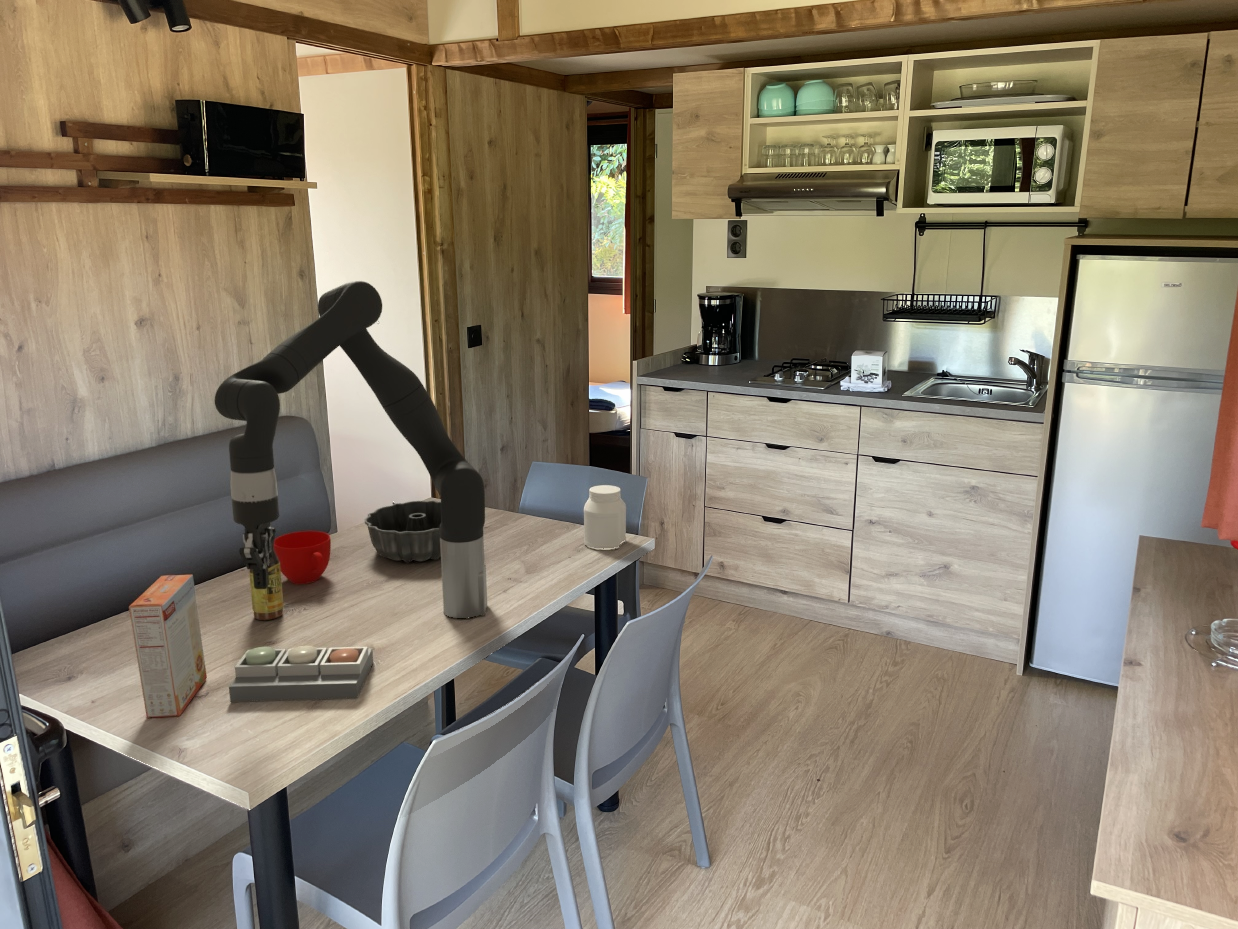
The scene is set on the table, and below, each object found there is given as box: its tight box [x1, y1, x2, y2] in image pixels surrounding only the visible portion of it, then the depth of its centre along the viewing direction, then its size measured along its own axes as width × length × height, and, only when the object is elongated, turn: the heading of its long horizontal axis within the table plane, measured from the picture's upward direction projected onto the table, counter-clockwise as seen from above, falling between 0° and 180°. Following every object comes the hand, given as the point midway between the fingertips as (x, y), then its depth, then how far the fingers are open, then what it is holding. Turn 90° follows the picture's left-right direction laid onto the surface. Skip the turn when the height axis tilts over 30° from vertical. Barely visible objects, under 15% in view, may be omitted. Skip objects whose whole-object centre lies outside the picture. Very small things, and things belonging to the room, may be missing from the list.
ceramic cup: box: [274, 530, 332, 585], centre depth 216 cm, size 13×17×10 cm
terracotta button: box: [330, 648, 359, 663], centre depth 168 cm, size 5×5×2 cm
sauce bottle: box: [248, 525, 284, 621], centre depth 195 cm, size 7×6×20 cm
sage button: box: [245, 646, 276, 665], centre depth 167 cm, size 5×5×2 cm
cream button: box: [288, 645, 317, 664], centre depth 167 cm, size 5×5×2 cm
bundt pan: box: [364, 499, 441, 563], centre depth 236 cm, size 26×26×10 cm
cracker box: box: [128, 574, 207, 719], centre depth 160 cm, size 14×6×21 cm, turn 5°
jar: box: [583, 484, 627, 549], centre depth 241 cm, size 12×10×15 cm
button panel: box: [228, 646, 374, 703], centre depth 168 cm, size 22×14×5 cm, turn 93°
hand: (261, 587), depth 163 cm, fingers closed
